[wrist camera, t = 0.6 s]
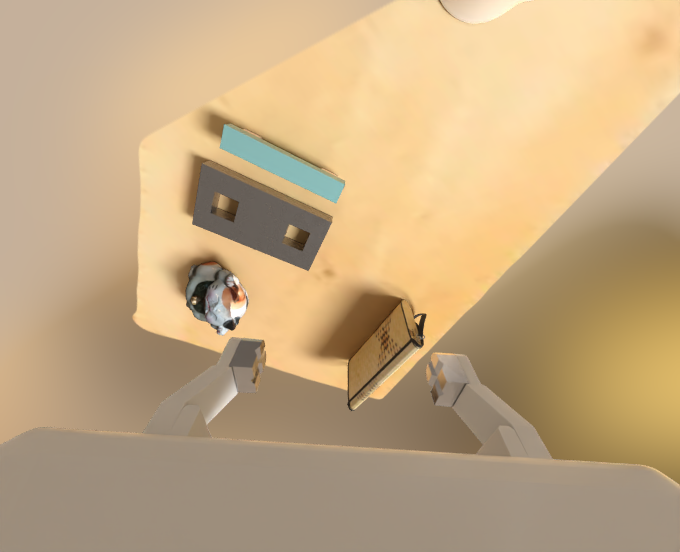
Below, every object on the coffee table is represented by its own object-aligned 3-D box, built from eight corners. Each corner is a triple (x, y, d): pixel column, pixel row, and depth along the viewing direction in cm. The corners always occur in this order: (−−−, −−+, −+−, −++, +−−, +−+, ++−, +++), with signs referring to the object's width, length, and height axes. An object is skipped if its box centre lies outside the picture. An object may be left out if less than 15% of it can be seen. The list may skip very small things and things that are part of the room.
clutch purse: (364, 368, 77) (368, 419, 64) (344, 361, 75) (343, 412, 62) (428, 301, 62) (449, 350, 49) (405, 290, 60) (420, 338, 48)
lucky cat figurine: (193, 251, 56) (193, 276, 44) (249, 261, 62) (261, 286, 51) (180, 310, 59) (177, 348, 48) (234, 314, 66) (242, 348, 55)
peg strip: (236, 122, 42) (224, 124, 38) (345, 177, 46) (345, 184, 42) (231, 144, 44) (219, 147, 40) (337, 195, 48) (336, 203, 44)
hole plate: (209, 160, 45) (201, 163, 43) (332, 216, 51) (331, 222, 48) (199, 218, 51) (192, 223, 49) (310, 263, 57) (308, 270, 54)
